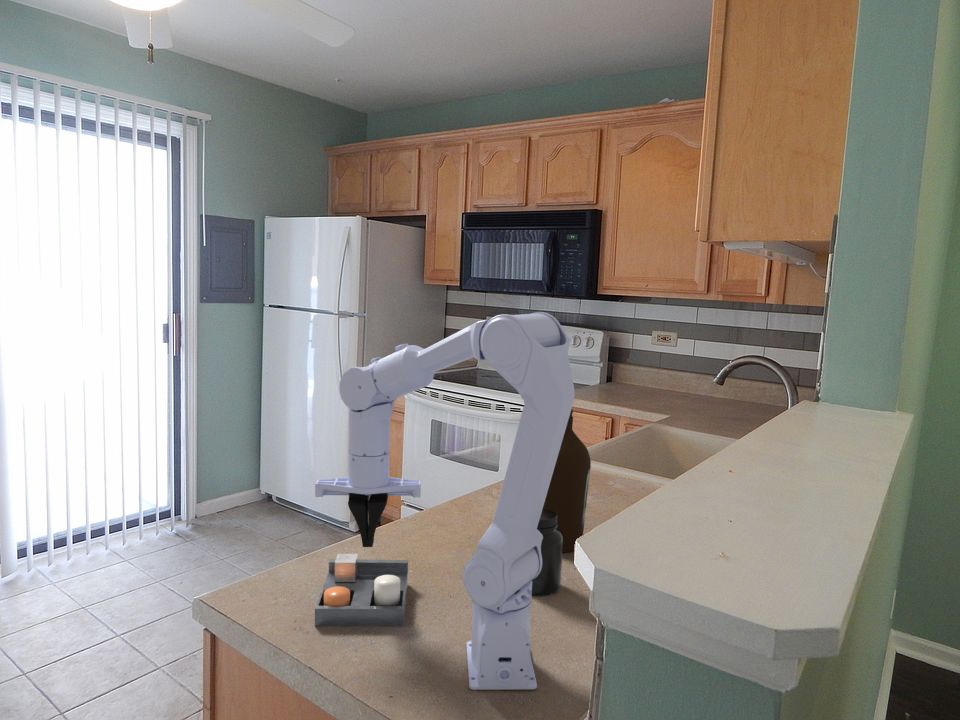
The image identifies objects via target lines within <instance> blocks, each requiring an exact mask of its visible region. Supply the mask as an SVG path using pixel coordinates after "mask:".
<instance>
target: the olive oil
mask: <svg viewBox="0 0 960 720" xmlns="http://www.w3.org/2000/svg"><path fill="white" fill-rule="evenodd" d="M573 413H574V409H573V408H572V409H571V412H570V416H569V419H568V423H567V426H566V430H565V433H564V436H563V440H562V443H561V447H560V450H559V454H558V457H557V461H556V464H555V468H554V471H553V474H552V478H551V481H550V485H549V488H548V492H547V495H546V499H545V502H544V506H543V509H547V510H551V511H553V512H555V513H556V514H557V528H556V529H558V530H559V531H560V533H561V534H562V537H563V546H562V553H571V552H575V551H574V544H575V541H576V539H577V538H579V537H580V536H582V535H583V536H584V530H585V522H586V521H585V520H586V519H585V518H586V511H587V501H588V494H589V483H590V475H591V468H592V467H591V466H592V465H591V464H592V461H591V455H590V453H589V450H588V448H587V447H586V445H585V443H584V442H582V440H581V438H579V436H578V435H577V434H576V432H575V431H574V430H573V424H574V423H573V422H574V417H573Z"/></svg>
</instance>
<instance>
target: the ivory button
mask: <svg viewBox="0 0 960 720" xmlns="http://www.w3.org/2000/svg"><path fill="white" fill-rule="evenodd" d="M399 602H400V578H399V577H397V576H394V575H382V576H379V577H377V578H376V579H375V581H374V603H375V604H376V605H377V606H395V605H397V604H398V603H399Z"/></svg>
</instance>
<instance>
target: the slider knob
mask: <svg viewBox="0 0 960 720" xmlns="http://www.w3.org/2000/svg"><path fill="white" fill-rule="evenodd" d="M335 559H336V560H335V582H355V581H356V577H357V573H358V560H359V554H358V553H337V555H336V558H335Z"/></svg>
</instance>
